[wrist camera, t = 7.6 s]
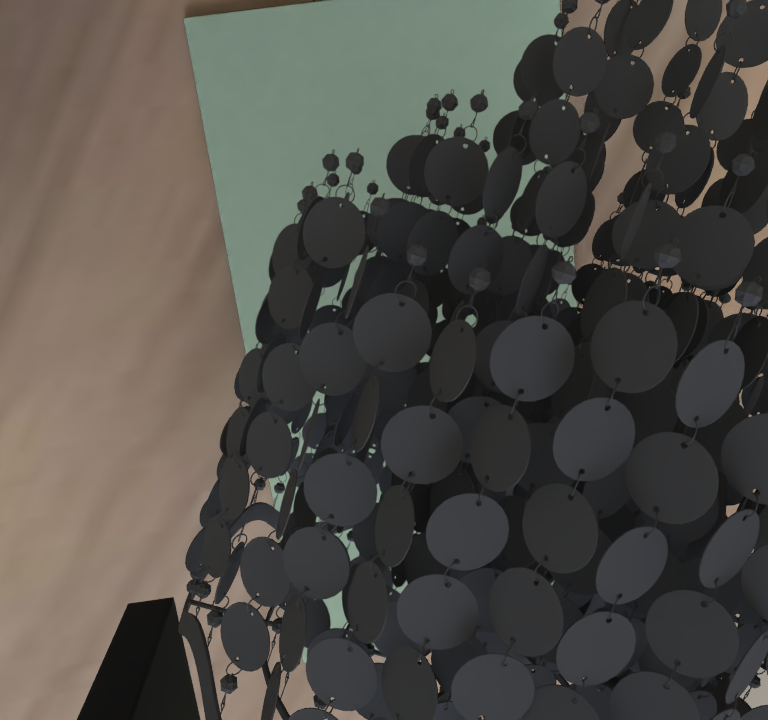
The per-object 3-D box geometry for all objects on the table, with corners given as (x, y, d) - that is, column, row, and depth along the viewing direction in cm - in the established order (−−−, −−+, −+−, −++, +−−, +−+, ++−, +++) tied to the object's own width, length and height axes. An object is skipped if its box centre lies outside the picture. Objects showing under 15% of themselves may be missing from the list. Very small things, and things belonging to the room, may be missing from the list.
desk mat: (184, 19, 23) (183, 17, 23) (555, -27, 24) (558, -29, 24) (303, 658, 30) (303, 663, 30) (592, 611, 30) (594, 616, 30)
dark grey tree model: (90, 884, 17) (-135, 1657, 8) (374, -101, 13) (554, -736, 4) (458, 937, 19) (600, 1626, 10) (824, 82, 15) (1682, -59, 6)
